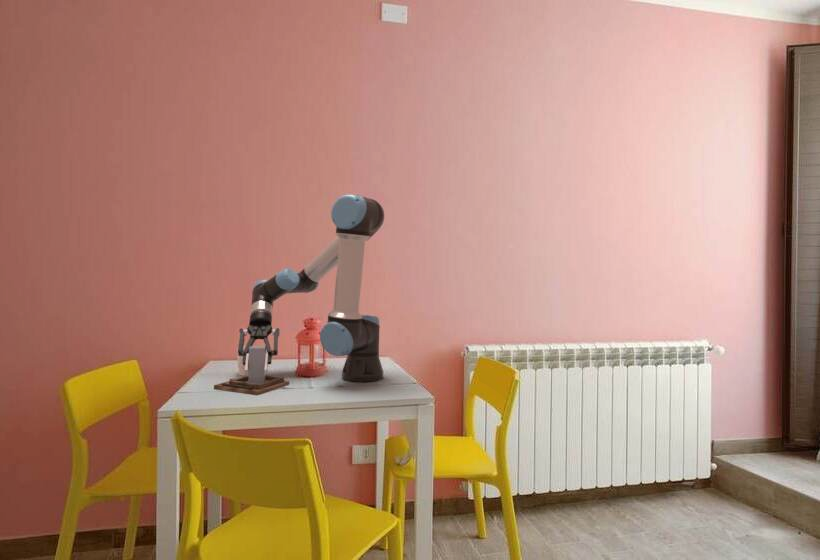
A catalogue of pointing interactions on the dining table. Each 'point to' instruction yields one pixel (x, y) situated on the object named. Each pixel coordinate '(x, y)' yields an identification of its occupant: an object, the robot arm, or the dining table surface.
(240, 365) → the white cup
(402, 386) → the dining table surface
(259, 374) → the block
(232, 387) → the brown wooden frame
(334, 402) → the dining table surface
